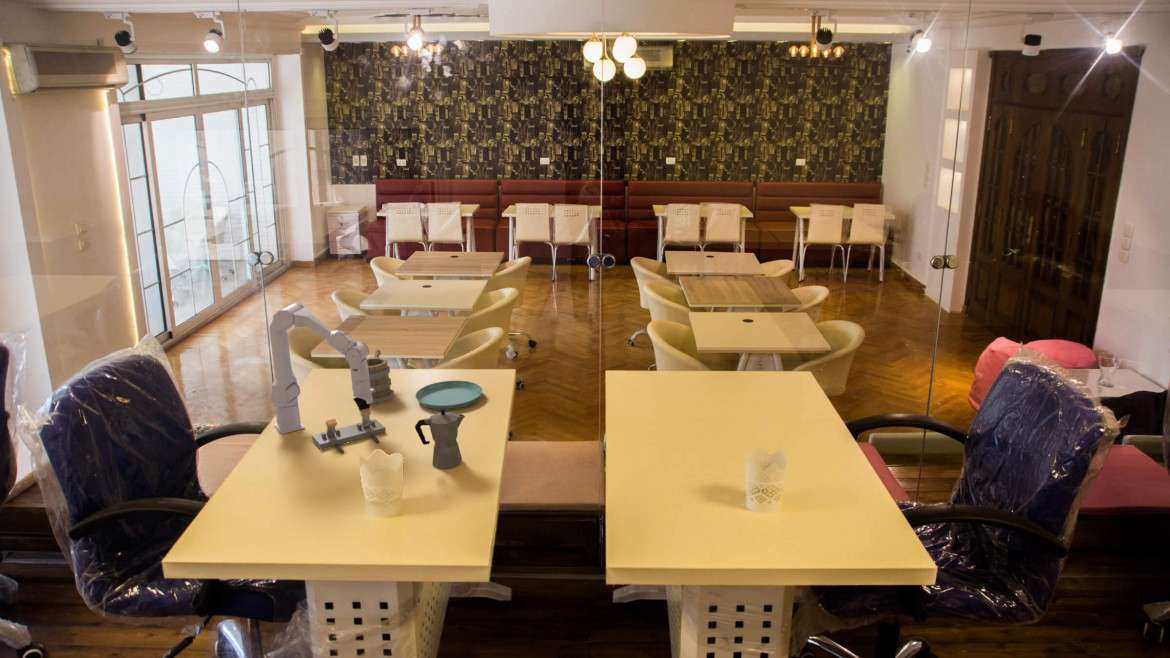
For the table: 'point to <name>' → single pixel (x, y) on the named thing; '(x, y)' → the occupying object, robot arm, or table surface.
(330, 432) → the lever
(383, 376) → the tankard
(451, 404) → the saucer
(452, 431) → the coffeepot
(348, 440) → the breaker block
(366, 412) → the lever
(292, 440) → the table surface
